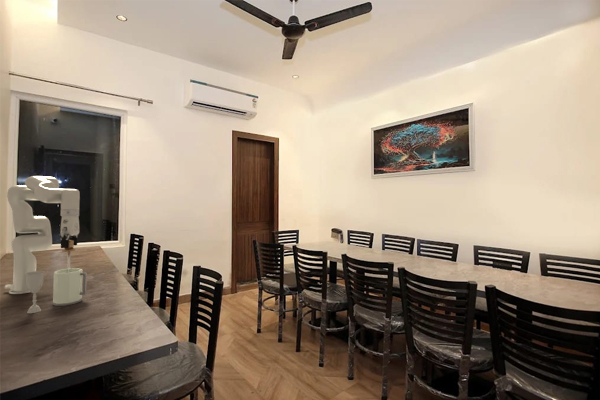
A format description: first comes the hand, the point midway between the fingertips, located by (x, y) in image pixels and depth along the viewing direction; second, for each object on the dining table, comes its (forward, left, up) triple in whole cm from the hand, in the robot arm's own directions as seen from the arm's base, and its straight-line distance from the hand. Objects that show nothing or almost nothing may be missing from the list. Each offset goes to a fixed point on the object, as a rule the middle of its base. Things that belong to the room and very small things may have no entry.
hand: (69, 246), depth 152 cm
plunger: (0, 0, -18) cm, 18 cm away
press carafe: (0, 0, -28) cm, 28 cm away
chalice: (-9, -11, -28) cm, 32 cm away
